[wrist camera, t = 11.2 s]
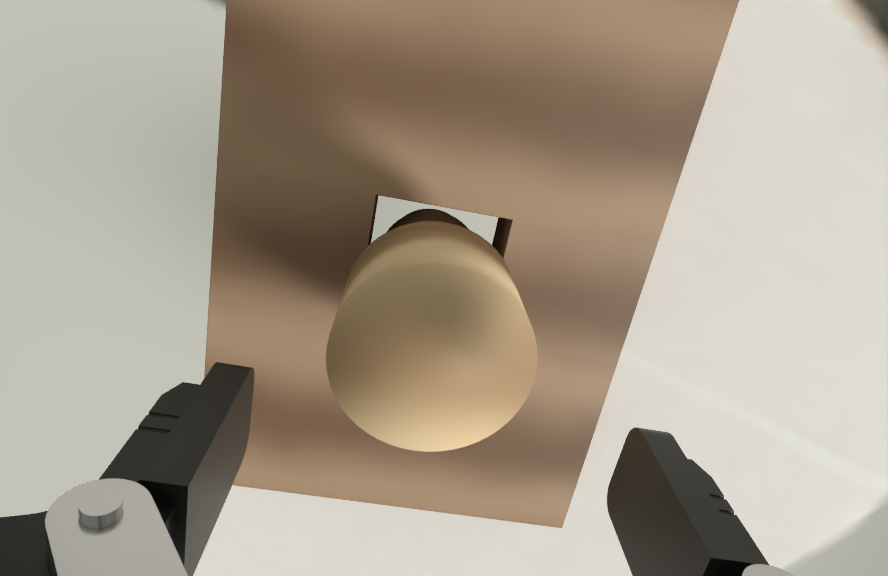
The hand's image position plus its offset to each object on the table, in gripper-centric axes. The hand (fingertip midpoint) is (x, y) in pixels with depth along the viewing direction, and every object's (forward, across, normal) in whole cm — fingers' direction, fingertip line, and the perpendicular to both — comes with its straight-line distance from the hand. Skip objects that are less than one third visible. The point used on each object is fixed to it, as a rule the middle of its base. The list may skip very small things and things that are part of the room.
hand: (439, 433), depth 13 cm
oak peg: (+13, 0, 0) cm, 13 cm away
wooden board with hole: (+13, 0, 0) cm, 13 cm away
